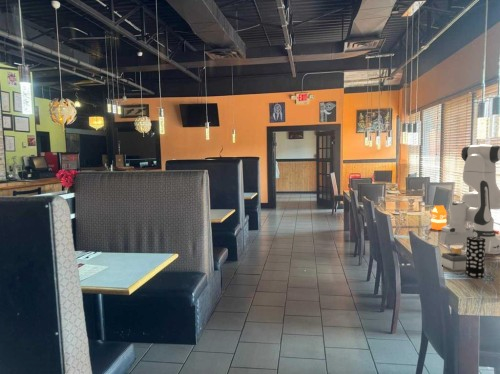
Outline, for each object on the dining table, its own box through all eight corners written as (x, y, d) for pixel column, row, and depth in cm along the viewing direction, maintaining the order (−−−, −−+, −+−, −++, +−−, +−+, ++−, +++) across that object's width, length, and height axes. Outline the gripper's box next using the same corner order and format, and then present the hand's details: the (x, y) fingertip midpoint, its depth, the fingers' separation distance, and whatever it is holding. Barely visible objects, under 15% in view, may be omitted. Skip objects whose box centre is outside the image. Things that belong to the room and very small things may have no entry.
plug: (456, 258, 232) (457, 246, 231) (461, 259, 228) (461, 248, 227) (450, 258, 231) (451, 247, 230) (455, 260, 227) (455, 248, 226)
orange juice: (446, 229, 319) (446, 205, 317) (437, 229, 316) (438, 206, 315) (439, 227, 326) (440, 204, 324) (430, 228, 324) (431, 205, 322)
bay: (464, 261, 223) (464, 250, 223) (482, 268, 210) (482, 257, 209) (436, 263, 221) (437, 252, 220) (453, 270, 207) (453, 258, 206)
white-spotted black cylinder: (477, 273, 202) (478, 236, 200) (487, 278, 194) (489, 240, 192) (462, 273, 202) (463, 236, 200) (471, 278, 194) (473, 240, 192)
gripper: (468, 226, 232) (467, 249, 233) (439, 227, 228) (438, 250, 229) (476, 228, 226) (475, 251, 227) (446, 229, 222) (445, 252, 223)
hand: (456, 250), depth 228 cm, fingers open, 8 cm apart
